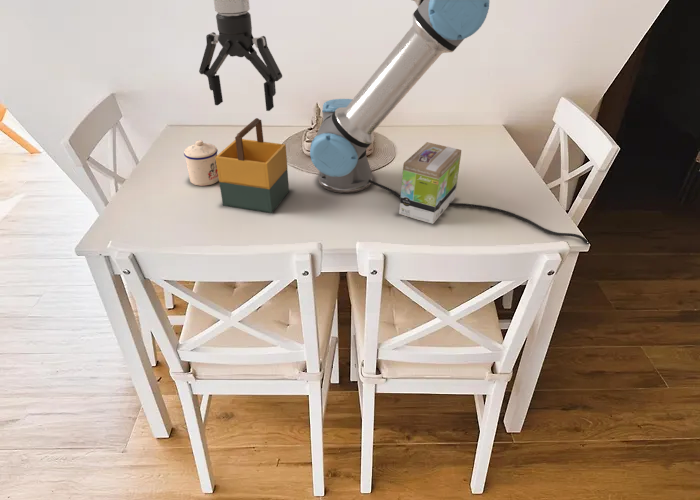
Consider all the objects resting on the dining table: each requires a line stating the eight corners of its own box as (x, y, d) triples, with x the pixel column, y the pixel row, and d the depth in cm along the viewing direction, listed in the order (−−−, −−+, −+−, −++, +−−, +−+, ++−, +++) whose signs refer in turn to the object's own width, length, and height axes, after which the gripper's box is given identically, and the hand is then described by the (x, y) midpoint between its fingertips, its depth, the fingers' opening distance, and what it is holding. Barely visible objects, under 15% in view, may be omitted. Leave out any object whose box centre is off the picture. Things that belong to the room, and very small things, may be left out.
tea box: (434, 225, 134) (440, 171, 125) (398, 215, 138) (401, 162, 129) (455, 199, 145) (462, 148, 136) (421, 190, 149) (425, 140, 140)
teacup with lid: (215, 187, 150) (209, 148, 143) (184, 185, 151) (176, 147, 144) (228, 168, 160) (223, 131, 153) (199, 166, 161) (192, 129, 154)
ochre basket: (287, 168, 144) (283, 119, 136) (269, 189, 135) (264, 138, 127) (240, 162, 147) (233, 114, 140) (219, 182, 138) (211, 131, 130)
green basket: (289, 191, 148) (287, 168, 144) (271, 213, 139) (269, 189, 135) (242, 184, 151) (239, 162, 147) (222, 205, 142) (219, 182, 138)
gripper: (292, 12, 118) (297, 105, 131) (191, 5, 124) (205, 96, 136) (278, 19, 112) (286, 117, 125) (173, 12, 118) (190, 106, 131)
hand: (244, 106), depth 131 cm, fingers open, 13 cm apart
